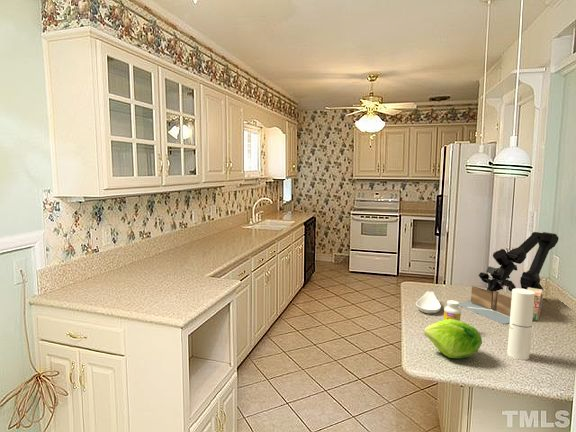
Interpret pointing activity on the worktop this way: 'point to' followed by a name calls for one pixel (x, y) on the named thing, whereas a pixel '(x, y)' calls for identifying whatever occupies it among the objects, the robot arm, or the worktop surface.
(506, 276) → the robot arm
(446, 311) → the supplement bottle
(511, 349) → the cylindrical container
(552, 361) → the worktop surface
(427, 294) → the spoon rest
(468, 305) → the card
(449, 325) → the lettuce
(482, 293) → the wooden board
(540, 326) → the worktop surface
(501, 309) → the fence post and fixed panel
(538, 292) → the stack of blocks
